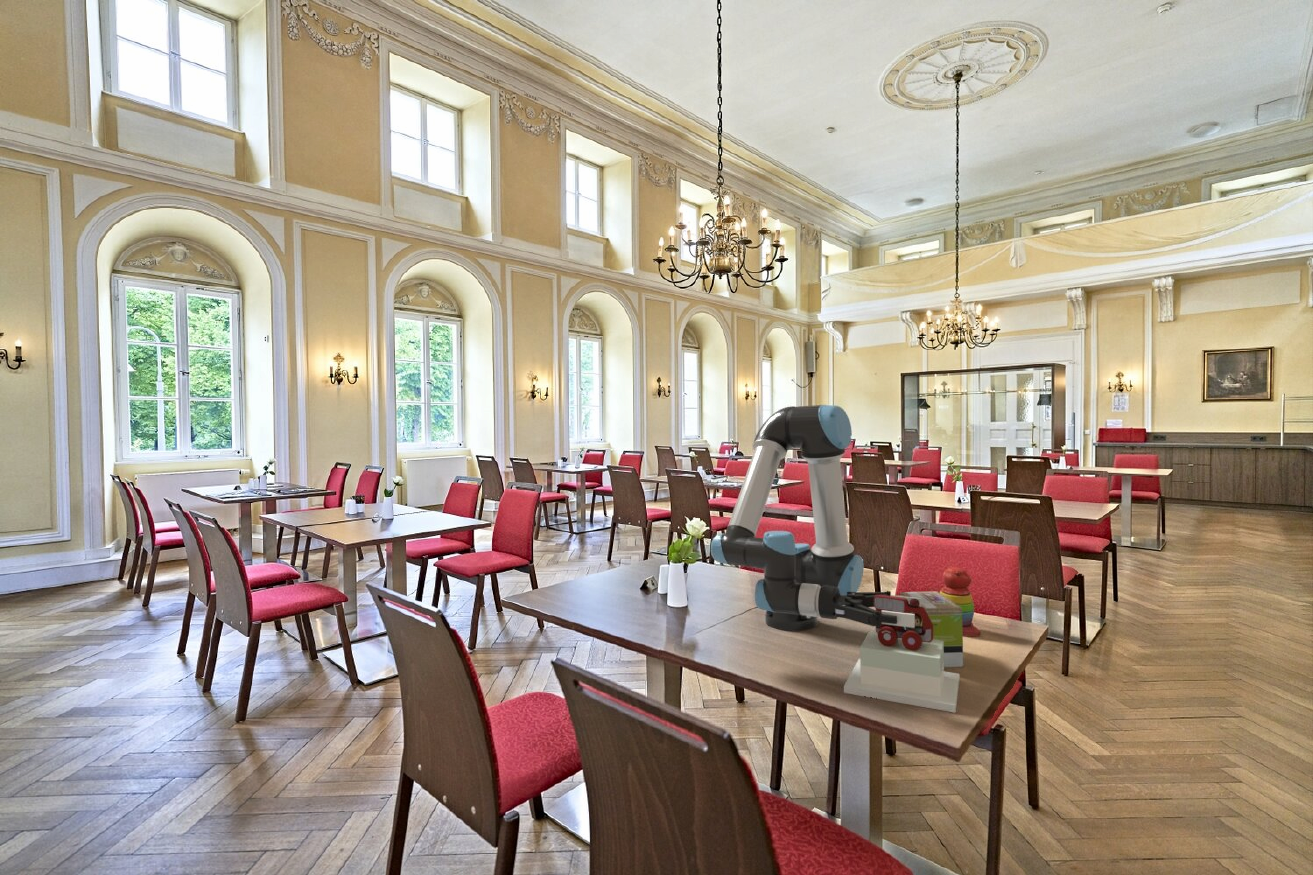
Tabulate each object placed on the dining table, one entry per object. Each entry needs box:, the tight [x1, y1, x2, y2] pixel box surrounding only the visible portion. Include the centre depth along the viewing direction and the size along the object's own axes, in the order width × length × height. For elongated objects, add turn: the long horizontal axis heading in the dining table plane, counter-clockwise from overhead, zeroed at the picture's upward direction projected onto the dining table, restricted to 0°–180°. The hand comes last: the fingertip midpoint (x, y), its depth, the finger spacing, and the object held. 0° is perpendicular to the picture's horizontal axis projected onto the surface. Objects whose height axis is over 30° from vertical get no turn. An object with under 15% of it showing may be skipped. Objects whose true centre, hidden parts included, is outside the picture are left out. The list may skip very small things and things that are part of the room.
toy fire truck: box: [873, 595, 933, 650], centre depth 138 cm, size 7×12×10 cm, turn 57°
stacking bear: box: [939, 565, 981, 637], centre depth 176 cm, size 11×10×18 cm
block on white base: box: [843, 630, 960, 714], centre depth 139 cm, size 22×18×10 cm
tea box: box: [899, 590, 964, 668], centre depth 156 cm, size 15×10×15 cm
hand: (917, 612), depth 137 cm, fingers open, 13 cm apart
